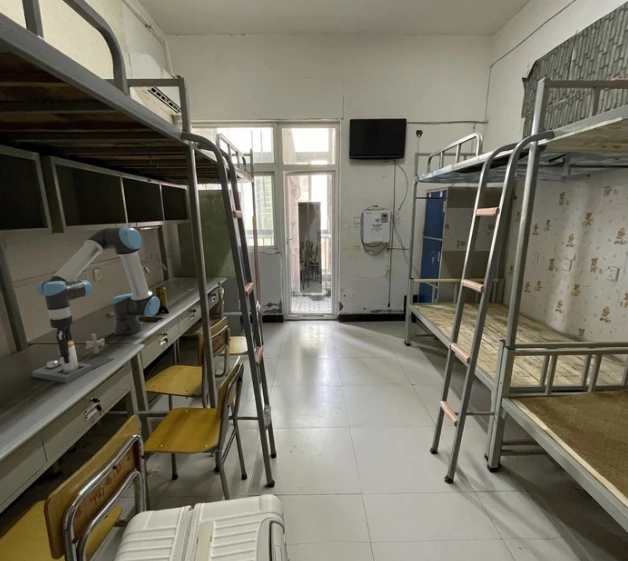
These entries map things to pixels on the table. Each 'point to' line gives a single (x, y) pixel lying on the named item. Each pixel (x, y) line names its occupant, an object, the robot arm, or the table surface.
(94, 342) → the pipe connector
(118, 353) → the table surface
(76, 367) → the cartridge
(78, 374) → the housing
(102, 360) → the mat
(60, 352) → the robot arm
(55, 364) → the plunger
